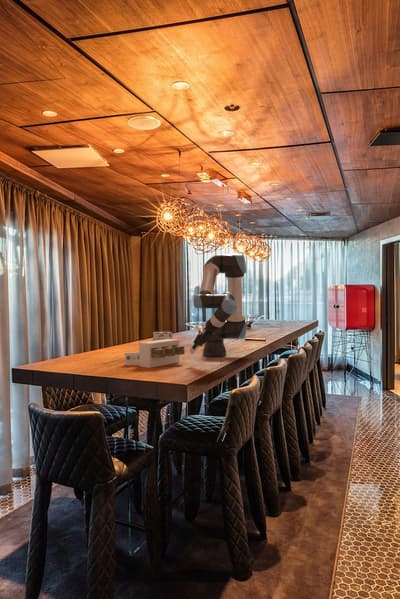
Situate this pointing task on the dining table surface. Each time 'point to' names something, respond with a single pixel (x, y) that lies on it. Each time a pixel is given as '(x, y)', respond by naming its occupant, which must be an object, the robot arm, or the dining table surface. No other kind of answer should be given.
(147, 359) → the console
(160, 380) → the dining table surface
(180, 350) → the plunger
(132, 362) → the card
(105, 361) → the dining table surface
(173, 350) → the plunger middle
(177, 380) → the dining table surface
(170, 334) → the candy bar box
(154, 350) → the plunger
